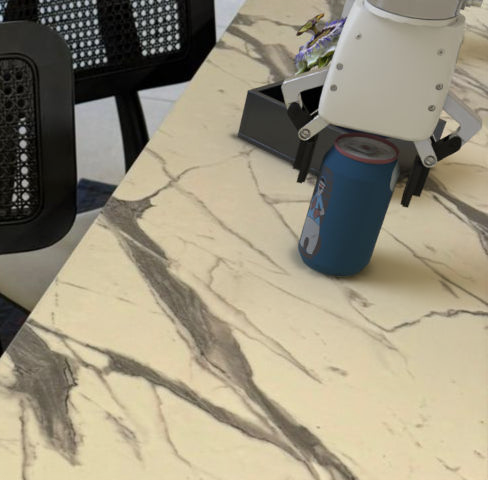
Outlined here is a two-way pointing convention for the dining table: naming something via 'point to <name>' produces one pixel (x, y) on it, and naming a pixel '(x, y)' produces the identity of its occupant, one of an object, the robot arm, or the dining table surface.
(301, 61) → the passion flower
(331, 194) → the soda can
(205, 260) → the dining table surface
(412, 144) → the dark grey open box
